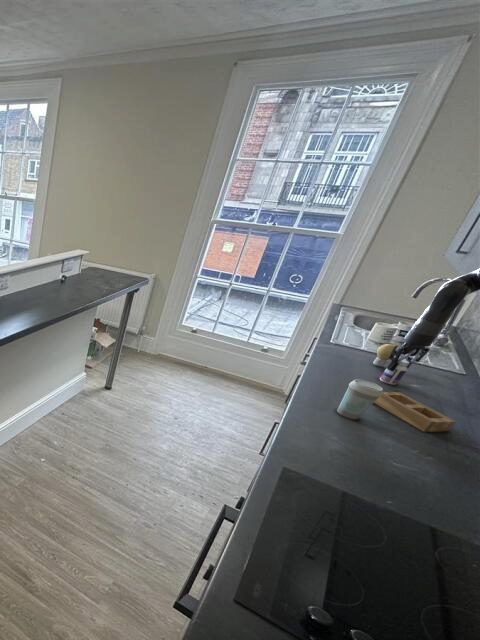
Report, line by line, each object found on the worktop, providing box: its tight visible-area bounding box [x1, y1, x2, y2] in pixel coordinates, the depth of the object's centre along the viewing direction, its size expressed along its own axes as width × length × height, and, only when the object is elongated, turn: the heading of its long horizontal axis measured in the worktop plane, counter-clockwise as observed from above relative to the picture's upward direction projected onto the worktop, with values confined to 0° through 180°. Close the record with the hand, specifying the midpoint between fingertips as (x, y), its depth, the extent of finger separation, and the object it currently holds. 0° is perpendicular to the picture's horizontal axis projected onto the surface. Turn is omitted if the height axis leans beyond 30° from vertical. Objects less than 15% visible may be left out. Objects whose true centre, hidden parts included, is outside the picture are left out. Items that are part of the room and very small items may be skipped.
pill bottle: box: [379, 358, 409, 386], centre depth 160 cm, size 5×5×10 cm
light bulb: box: [373, 343, 396, 368], centre depth 174 cm, size 6×6×10 cm
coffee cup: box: [336, 378, 384, 420], centre depth 134 cm, size 9×8×12 cm
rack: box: [373, 391, 457, 433], centre depth 139 cm, size 10×18×4 cm, turn 8°
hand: (396, 370), depth 160 cm, fingers closed on pill bottle, 5 cm apart
